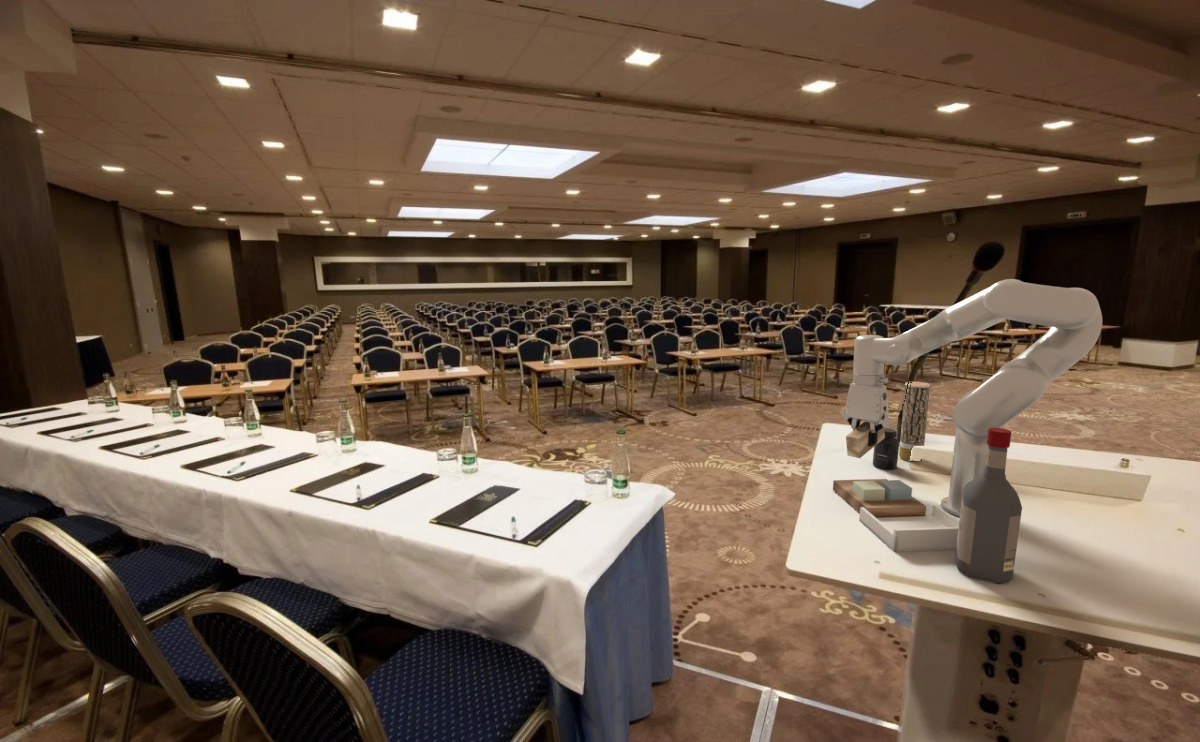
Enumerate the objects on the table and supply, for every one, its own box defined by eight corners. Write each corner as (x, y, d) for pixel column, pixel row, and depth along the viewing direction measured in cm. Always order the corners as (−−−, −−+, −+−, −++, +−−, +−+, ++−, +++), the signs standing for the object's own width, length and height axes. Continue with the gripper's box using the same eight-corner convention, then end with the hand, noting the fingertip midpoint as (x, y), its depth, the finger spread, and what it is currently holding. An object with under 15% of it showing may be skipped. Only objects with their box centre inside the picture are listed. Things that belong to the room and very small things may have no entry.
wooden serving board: (925, 517, 134) (926, 506, 133) (866, 519, 133) (867, 508, 133) (885, 488, 151) (885, 478, 151) (832, 490, 151) (833, 480, 150)
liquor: (956, 575, 108) (973, 433, 103) (954, 555, 116) (969, 421, 111) (1013, 588, 104) (1033, 439, 98) (1006, 566, 112) (1025, 427, 106)
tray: (978, 548, 118) (980, 527, 118) (893, 551, 118) (895, 530, 117) (934, 518, 133) (936, 499, 132) (859, 520, 133) (860, 501, 132)
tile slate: (911, 499, 137) (912, 488, 137) (890, 499, 137) (890, 488, 137) (898, 490, 143) (899, 480, 142) (878, 491, 142) (879, 480, 142)
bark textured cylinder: (894, 457, 176) (900, 382, 172) (907, 454, 179) (914, 380, 174) (913, 463, 170) (920, 386, 166) (927, 460, 173) (935, 384, 168)
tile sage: (884, 500, 137) (885, 489, 136) (863, 500, 137) (863, 489, 136) (872, 491, 142) (873, 480, 142) (852, 492, 142) (853, 481, 142)
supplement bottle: (875, 469, 166) (878, 432, 164) (870, 462, 172) (872, 426, 170) (899, 471, 164) (903, 433, 162) (893, 463, 171) (896, 427, 169)
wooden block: (884, 437, 155) (883, 417, 153) (859, 458, 147) (858, 436, 145) (872, 435, 157) (871, 414, 155) (847, 455, 150) (845, 434, 148)
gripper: (905, 382, 144) (901, 447, 147) (846, 374, 157) (843, 434, 160) (891, 386, 139) (887, 453, 143) (832, 377, 153) (829, 440, 156)
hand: (864, 443), depth 151 cm, fingers closed on wooden block, 3 cm apart
